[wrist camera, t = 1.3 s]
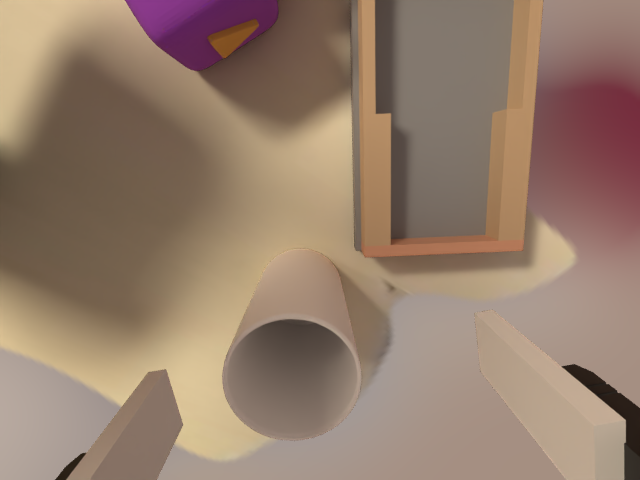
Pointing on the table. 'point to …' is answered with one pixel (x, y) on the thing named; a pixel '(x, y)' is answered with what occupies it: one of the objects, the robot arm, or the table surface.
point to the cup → (294, 351)
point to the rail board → (442, 123)
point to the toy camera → (203, 26)
